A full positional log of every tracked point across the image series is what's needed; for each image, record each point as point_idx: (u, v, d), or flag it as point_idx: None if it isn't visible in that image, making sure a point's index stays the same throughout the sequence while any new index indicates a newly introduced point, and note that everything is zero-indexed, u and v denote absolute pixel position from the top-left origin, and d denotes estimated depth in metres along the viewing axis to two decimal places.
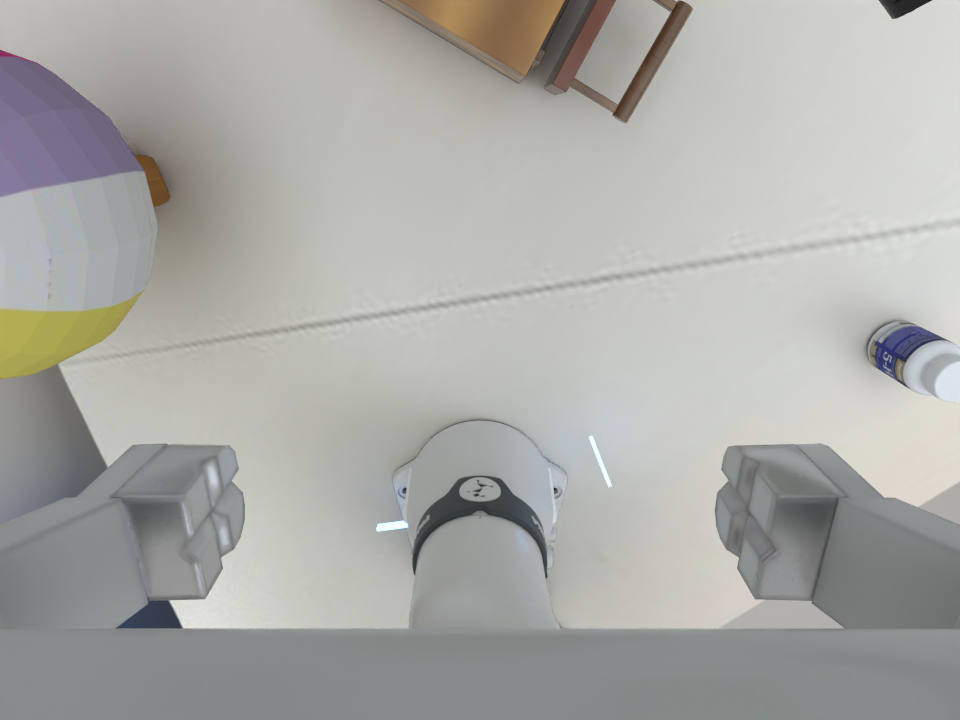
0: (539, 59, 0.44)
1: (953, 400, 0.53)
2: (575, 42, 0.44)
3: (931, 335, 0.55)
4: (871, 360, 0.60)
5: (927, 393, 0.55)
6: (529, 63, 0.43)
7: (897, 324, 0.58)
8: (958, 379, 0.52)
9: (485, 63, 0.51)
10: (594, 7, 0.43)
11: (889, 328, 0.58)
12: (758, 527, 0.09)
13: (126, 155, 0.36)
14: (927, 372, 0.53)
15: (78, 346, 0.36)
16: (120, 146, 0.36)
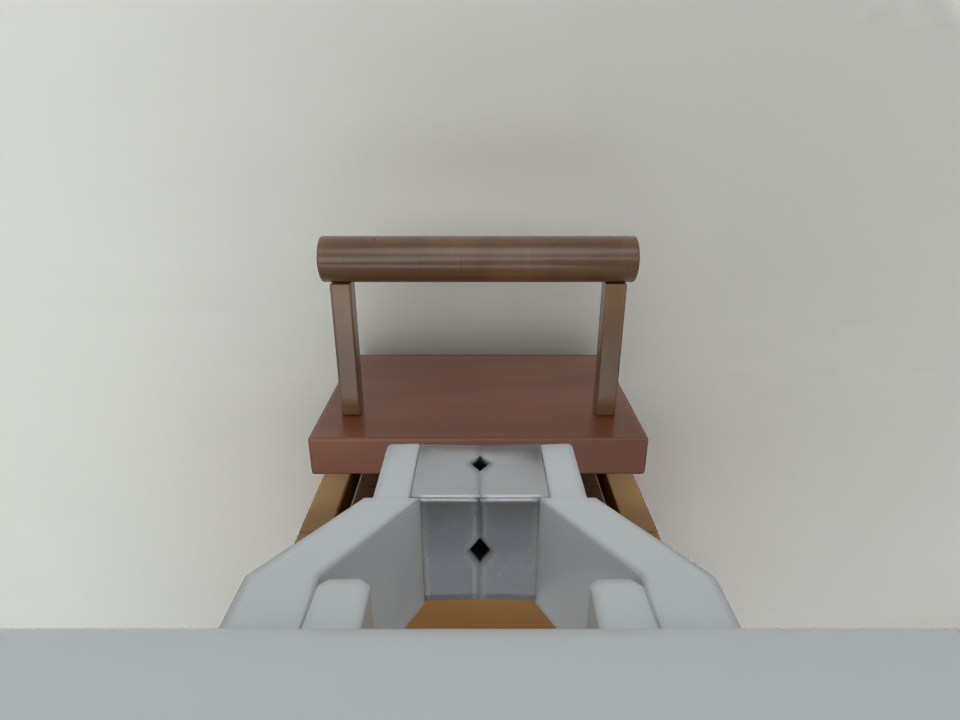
0: None
1: None
2: None
3: None
4: None
5: None
6: None
7: None
8: None
9: None
10: None
11: None
12: None
13: None
14: None
15: None
16: None
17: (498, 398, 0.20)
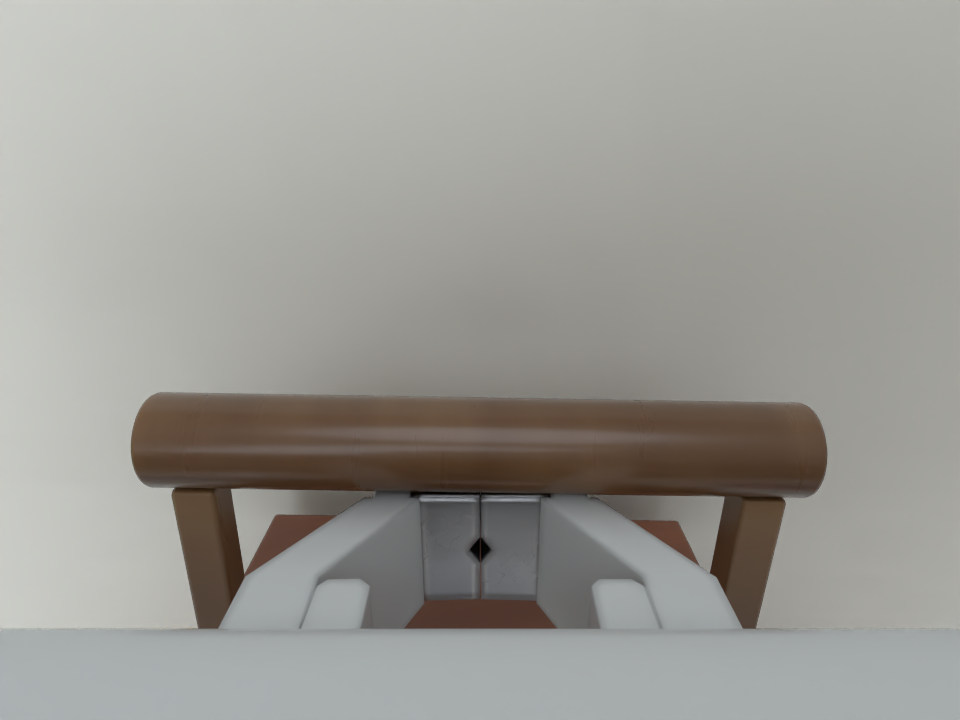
0: None
1: None
2: None
3: None
4: None
5: None
6: None
7: None
8: None
9: None
10: None
11: None
12: None
13: None
14: None
15: None
16: None
17: None
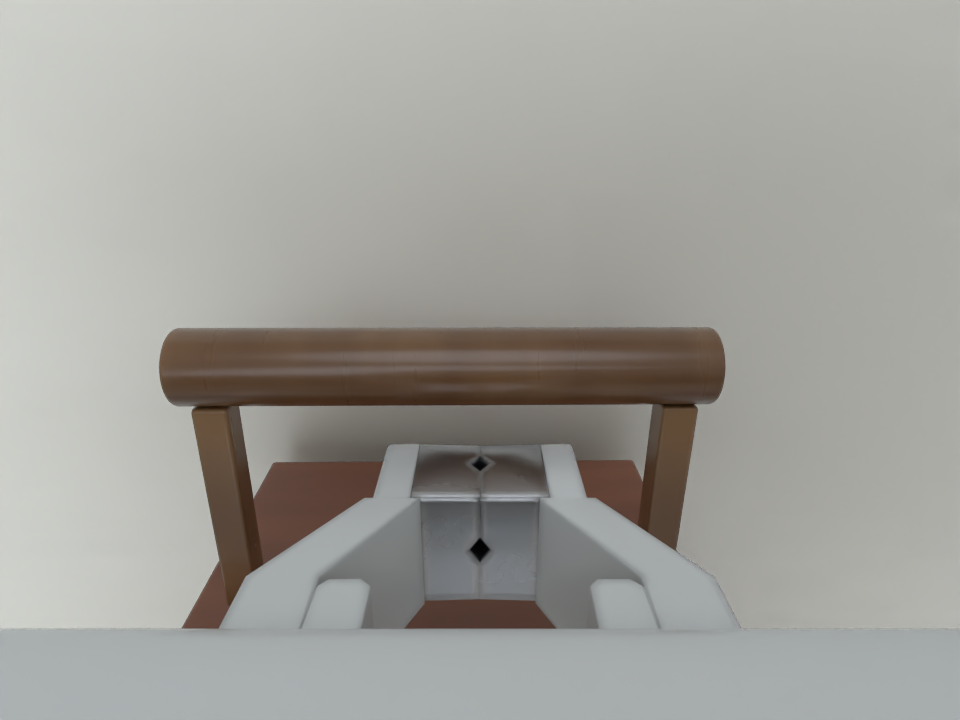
0: None
1: None
2: None
3: None
4: None
5: None
6: None
7: None
8: None
9: None
10: None
11: None
12: None
13: None
14: None
15: None
16: None
17: None
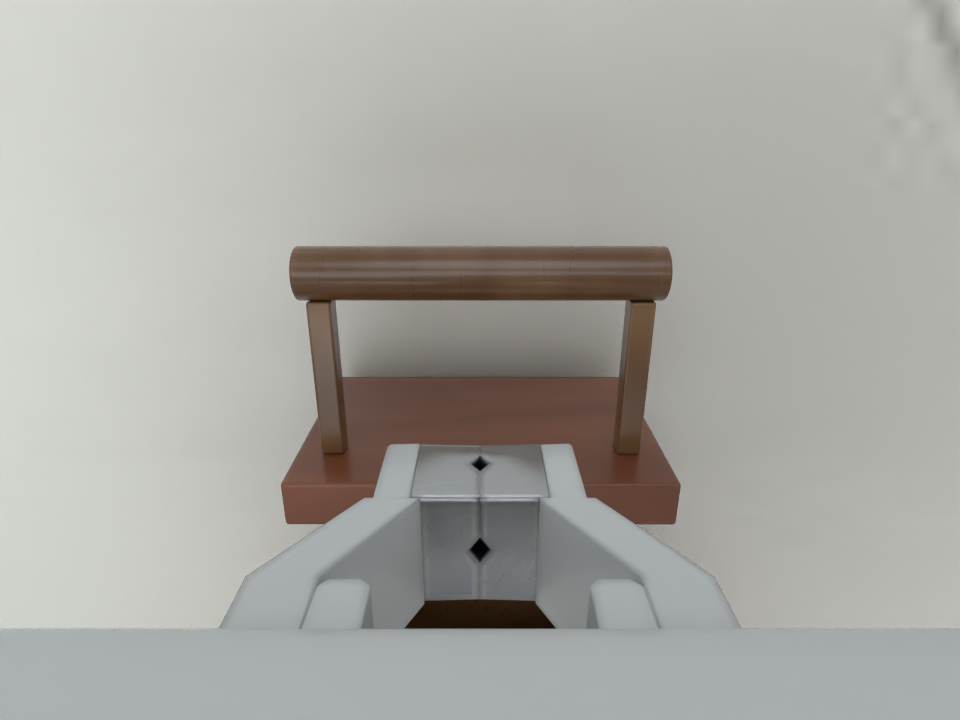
0: None
1: None
2: None
3: None
4: None
5: None
6: None
7: None
8: None
9: None
10: None
11: None
12: None
13: None
14: None
15: None
16: None
17: (503, 431, 0.17)
